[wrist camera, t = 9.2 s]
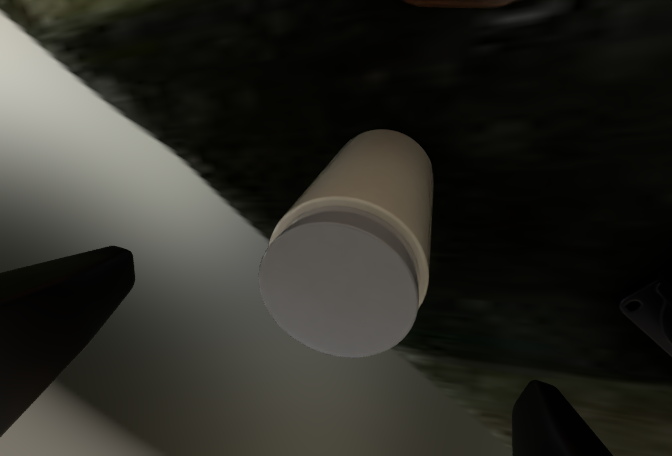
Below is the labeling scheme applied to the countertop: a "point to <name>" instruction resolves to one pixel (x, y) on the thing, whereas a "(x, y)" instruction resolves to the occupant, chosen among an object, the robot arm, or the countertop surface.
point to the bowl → (462, 3)
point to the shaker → (354, 249)
